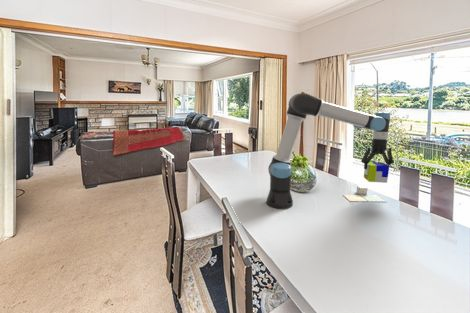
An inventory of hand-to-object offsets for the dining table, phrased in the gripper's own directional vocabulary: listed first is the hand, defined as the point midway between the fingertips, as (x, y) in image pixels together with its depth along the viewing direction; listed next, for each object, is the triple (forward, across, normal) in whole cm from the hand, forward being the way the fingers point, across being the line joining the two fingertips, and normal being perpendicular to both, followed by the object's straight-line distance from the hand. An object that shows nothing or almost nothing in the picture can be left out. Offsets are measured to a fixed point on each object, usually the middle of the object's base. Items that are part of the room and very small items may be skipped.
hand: (375, 174), depth 154 cm
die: (+16, -2, +10) cm, 19 cm away
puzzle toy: (+4, 0, 0) cm, 4 cm away
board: (+16, -6, 0) cm, 17 cm away
